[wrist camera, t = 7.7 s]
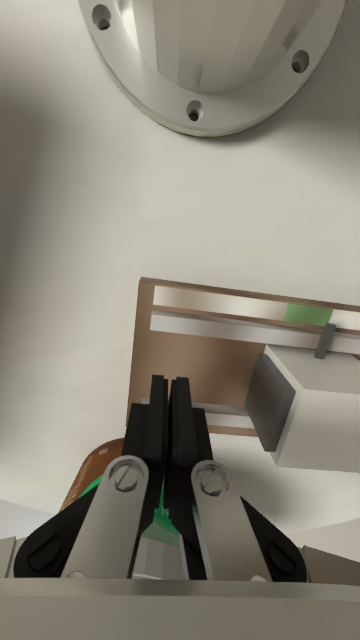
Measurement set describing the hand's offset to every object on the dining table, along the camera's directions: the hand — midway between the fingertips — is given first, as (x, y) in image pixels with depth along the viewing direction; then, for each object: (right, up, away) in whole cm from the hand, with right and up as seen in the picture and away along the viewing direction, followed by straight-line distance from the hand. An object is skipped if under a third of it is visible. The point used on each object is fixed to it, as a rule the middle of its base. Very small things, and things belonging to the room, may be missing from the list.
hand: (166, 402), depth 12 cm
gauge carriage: (+9, +1, +6) cm, 11 cm away
